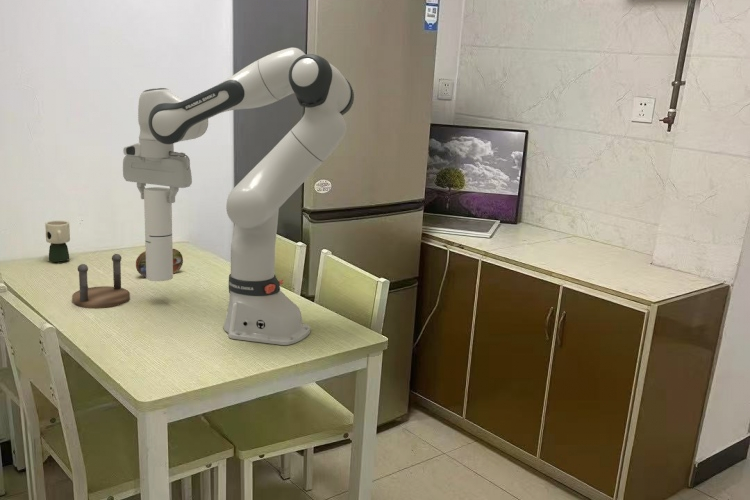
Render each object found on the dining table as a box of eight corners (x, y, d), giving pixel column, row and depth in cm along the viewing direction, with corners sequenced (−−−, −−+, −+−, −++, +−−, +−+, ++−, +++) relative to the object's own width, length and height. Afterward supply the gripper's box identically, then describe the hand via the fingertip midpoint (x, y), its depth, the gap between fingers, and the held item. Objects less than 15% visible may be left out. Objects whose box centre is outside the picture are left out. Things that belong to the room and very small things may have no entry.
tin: (139, 279, 213) (138, 253, 211) (134, 277, 216) (134, 251, 214) (183, 272, 224) (183, 247, 221) (178, 270, 226) (178, 245, 224)
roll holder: (141, 296, 198) (141, 256, 195) (103, 312, 184) (101, 269, 181) (100, 288, 203) (98, 249, 200) (59, 302, 189) (57, 261, 186)
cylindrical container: (165, 282, 189) (163, 192, 183) (141, 279, 191) (138, 190, 185) (177, 275, 196) (176, 188, 190) (154, 273, 197) (152, 186, 191)
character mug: (45, 257, 230) (43, 219, 227) (68, 256, 233) (67, 218, 230) (49, 266, 221) (47, 226, 217) (73, 264, 224) (71, 225, 221)
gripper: (196, 152, 184) (197, 203, 188) (134, 146, 191) (135, 195, 194) (181, 154, 178) (182, 206, 182) (118, 147, 185) (120, 198, 189)
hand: (157, 200), depth 188 cm, fingers closed on cylindrical container, 7 cm apart
